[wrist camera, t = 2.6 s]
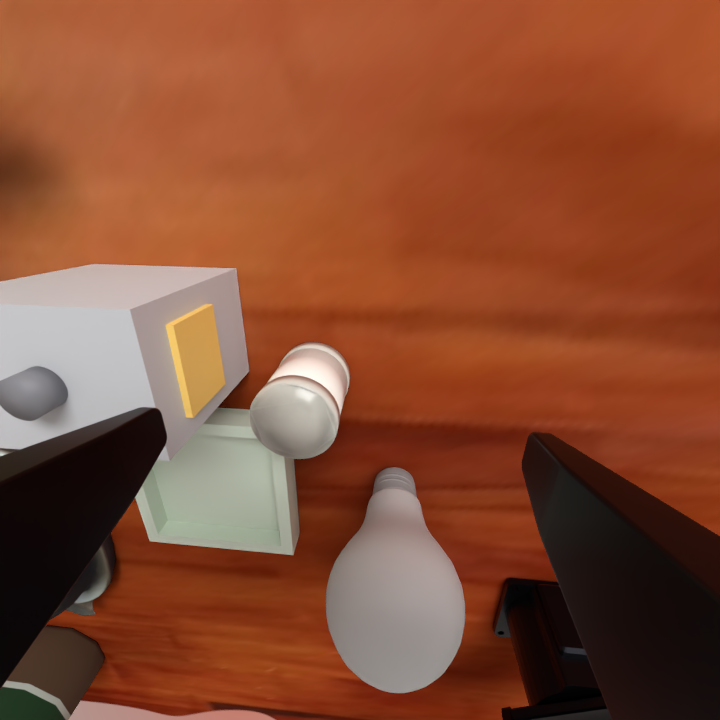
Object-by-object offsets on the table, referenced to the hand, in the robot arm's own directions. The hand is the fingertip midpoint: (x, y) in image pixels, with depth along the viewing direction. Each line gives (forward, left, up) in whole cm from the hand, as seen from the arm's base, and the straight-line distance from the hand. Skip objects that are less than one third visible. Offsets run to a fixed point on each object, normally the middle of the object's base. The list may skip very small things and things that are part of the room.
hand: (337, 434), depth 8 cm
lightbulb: (-11, -2, -11) cm, 16 cm away
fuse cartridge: (-4, +3, -11) cm, 12 cm away
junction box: (-1, +11, -11) cm, 16 cm away
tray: (-12, +10, -11) cm, 19 cm away
